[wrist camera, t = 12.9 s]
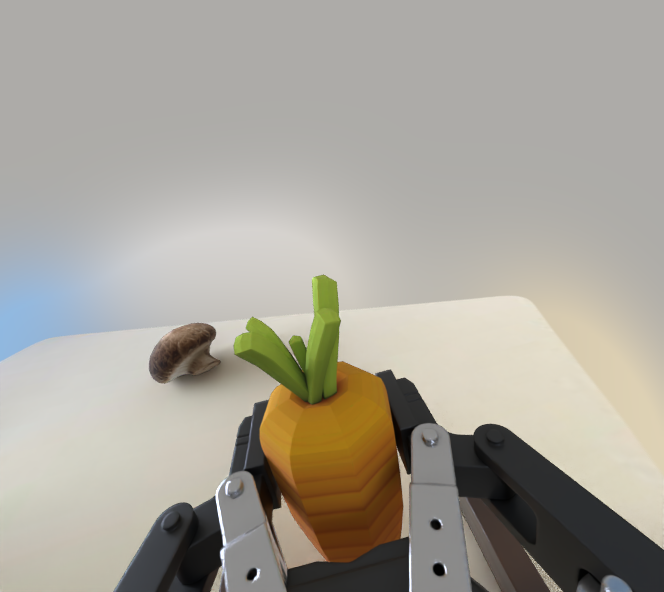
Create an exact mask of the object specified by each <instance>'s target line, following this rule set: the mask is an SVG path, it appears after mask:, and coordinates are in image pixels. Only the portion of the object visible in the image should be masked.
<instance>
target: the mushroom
mask: <svg viewBox="0 0 664 592" xmlns="http://www.w3.org/2000/svg"><path fill="white" fill-rule="evenodd" d="M215 336H216V330H215V329H214V328H213V326H211V325H208V324H204V323H192V324H188V325H185V326H182V327H179V328H176V329H173V330H172V331H170V332H169V333H168V334H166V335H165V336H164V337H162V339H161V340H160V341H159V342H158V344H157V345H156V346H155V348H154V350H153V352H152V354H151V356H150V361H149V371H150V374H151V376H152V378H153V379H154V380H156V381H157V382H159V383H164V384H165V383H168V382H170V381H172V380H173V379H175V378H176V377H178V376H181V375H184V374H191V375H198V374H201V373H204V372H206V371H208V370H210V369H212V368H213V367H215V366H217V365H218V364H219V363H220V360H218V359H216V358H214V357H212V356H211V355H210V353H209V351H210V345H211V342H212V341H213V340H214V339H215Z"/></svg>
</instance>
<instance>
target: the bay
mask: <svg viewBox="0 0 664 592" xmlns="http://www.w3.org/2000/svg"><path fill="white" fill-rule="evenodd" d="M459 500H460V508H461V511H462V513H463V515H464V517H465V519H466V521H467V523H468V525H469V527H470V529H471V531H472V533H473V535H474V537H475V539H476V541H477V543H478V545H479V547H480V549H481V551H482V553H483V554H484V556H485V558H486V560H487V562H488V564H489V566H490V568H491V570H492V572H493V574H494V576H495V578H496V580H497V582H498V584H499V586H500V588H501V590H502V592H550V590H549V589H548V587H547V585H546V584H545V582H544V581H543V579H542V577H541V576H540V574H539V573H538V571H537V569H536V568H535V566H534V564H533V563H532V561H531V560H530V558H529V556H528V555H527V553H526V552H525V550H524V548H523V547H522V545H521V544H520V543H519V542H518V541H517V539H516V538H515V537H514V536H513V535H512V534H511V533H510V532H509V531H508V530H507V528H506V527H505V526H504V525H503V524H502V523H501V522H500V521H499V520H498V518H497V517H496V516H495V515H494V514H493V513H492V512H491V511H490V510H489V508H488V507H487V506H486V505H485V504H484V503H483V502H482V501H481V499H480V498H468V497H459ZM219 592H226V589H225V582H224V576H223V572H222V578H221V584H220V590H219Z"/></svg>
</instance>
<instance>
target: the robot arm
mask: <svg viewBox="0 0 664 592" xmlns="http://www.w3.org/2000/svg"><path fill="white" fill-rule="evenodd" d="M375 376H377V377H379V378H381V379H382V381H383V383H384V385H385V387H386V390H387V394H388V400H389V405H390V411H391V416H392V422H393V427H394V434H395V441H396V446H397V448H398V451H399V454H400V456H401V459H402V461H403V464H404V466H405V469H406V471H407V474H411V483H410V486H409V537H406V538H402V539H398V540H395V541H391V542H387V543H383V544H380V545H378V546H376V547H374V548H373V549H371V550H370V551H368V552H366V553H365V554H363V555H361V556H360V557H358V558H357V559H355V560H353V561H351V562H347V563H345V562H314V563H310V564H306V565H303V566H299V567H295V568H291V569H288V568H287V565H286V562H285V559H284V556H283V553H282V550H281V547H280V544H279V541H278V538H277V535H276V532H275V529H274V526H273V523H272V511H273V510H274V509H277V508H281V491H280V489H279V487H278V485H277V482H276V480H275V477H274V475H273V473H272V470H271V468H270V466H269V463H268V461H267V459H266V456H265V454H264V452H263V449H262V446H261V442H260V426H261V423H262V420H263V417H264V414H265V411H266V408H267V405H268V402H269V400H266V401H262V402H258V403H255V404H254V409H253V415H252V416H249V417H245V418H244V420H243V421H242V423H241V425H240V426H239V429H238V433H237V439H236V443H235V448H234V453H233V458H232V463H231V468H230V473H229V476H228V477H227V478H226V479H225V480H223V482H222V483H221V484H220V486H219V487H218V489H217V492H216V495H215V496H214V497H213V498H211V499H210V500H208V501H206V502H204V503H203V504H201V505H199V506H197V507H196V508H194V509H193V508H192V506H191V505H190V504H188V503H178V504H175V505H173V506H171V507H169V508H168V509H167V510H165V511H164V512H163V513H162V514H161V515H160V516H159V517H158V519H157V520H156V521H155V523H154V525H153V526H152V528H151V530H150V531H149V533H148V535H147V536H146V538H145V540H144V541H143V543H142V545H141V546H140V548H139V550H138V551H137V553H136V555H135V556H134V558H133V560H132V561H131V563H130V565H129V566H128V568H127V570H126V571H125V573H124V575H123V576H122V578H121V580H120V581H119V583H118V585H117V586H116V588H115V590H114V591H113V592H210V591H211V588H212V586H213V583H214V580H215V578H216V575H217V572H218V569H219V567H221V566H222V569H223V576H224V582H225V589H226V592H489V591H488V590H486V589H485V588H484V587H483V586H481V585H480V584H479V583H478V582H476V581H475V580H474V579H473V578H472V577H470V571H469V564H468V557H467V550H466V543H465V536H464V529H463V522H462V515H461V508H460V501H459V497H468V498H480V499H481V501H482V502H483V503H484V504H485V505H486V506H487V507H488V508H489V510H490V511H491V512H492V513H493V514H494V515H495V516H496V517H497V518H498V520H499V521H500V522H501V523H502V524H503V525H504V526H505V527H506V528H507V530H508V531H509V532H510V533H511V534H512V535H513V536H514V537H515V538H516V539H517V541H518V542H519V543H520V544H521V545H522V546H523V547H524V548H525V549H526V551H527V552H528V553H529V554H530V555H531V556H532V557H533V558H534V559H535V561H536V562H537V563H538V564H539V565H540V566H541V567H542V568H543V569H544V571H545V572H546V573H547V574H548V575H549V576H550V577H551V578H552V579H553V581H554V582H555V583H556V584H557V585H558V586H559V587H560V588H561V589H562V591H563V592H664V550H663V549H662V548H661V547H659V546H658V545H657V544H656V543H654V542H653V541H652V540H650V539H649V538H648V537H647V536H645V535H644V534H643V533H641V532H640V531H639V530H638V529H636V528H635V527H634V526H632V525H631V524H630V523H628V522H627V521H626V520H625V519H623V518H622V517H621V516H619V515H618V514H617V513H616V512H614V511H613V510H612V509H610V508H609V507H608V506H607V505H605V504H604V503H603V502H601V501H600V500H599V499H598V498H596V497H595V496H594V495H592V494H591V493H590V492H589V491H587V490H586V489H585V488H583V487H582V486H581V485H579V484H578V483H577V482H576V481H574V480H573V479H572V478H570V477H569V476H568V475H567V474H565V473H564V472H563V471H561V470H560V469H559V468H558V467H556V466H555V465H554V464H552V463H551V462H550V461H549V460H547V459H546V458H545V457H543V456H542V455H541V454H540V453H538V452H537V451H536V450H534V449H533V448H532V447H531V446H529V445H528V444H527V443H525V442H524V441H523V440H521V439H520V438H519V437H518V436H516V435H515V434H514V433H512V432H511V431H510V430H508V429H507V428H505V427H503V426H500V425H496V424H485V425H482V426H479V427H478V428H477V429H476V430H475V432H474V435H457V434H452V433H449V432H447V431H446V430H445V429H444V428H443V427H442V426H440V425H438V424H437V423H436V421H435V419H434V418H433V416H432V414H431V413H430V411H429V409H428V407H427V406H426V404H425V402H424V401H423V399H422V397H421V396H420V394H419V393H418V390H417V389H416V387H415V385H414V384H413V383H412V382H411V381H409V380H408V379H406V378H401V379H397V380H396V378H395V376H394V374H393V373H392V371H391V370H387V371H383V372H379V373H375Z"/></svg>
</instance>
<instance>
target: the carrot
mask: <svg viewBox="0 0 664 592" xmlns="http://www.w3.org/2000/svg"><path fill="white" fill-rule="evenodd" d="M312 288H313V305H314V320H313V323H312V327H311V331H310V336H309V341H308V346H307V349H306V347H305V344H304V342H303V340H302V338H301V337H300V336H292V338H291V339H290V341H289V344H290V346H291V348H292V350H293V352H294V355H295V357H296V359H297V361H298V363H299V365H300V366H301V368H302V370H301V368H300V367H299V365H298V364H297V362H296V361H295V359H294V358H293V356H292V355H291V353H290V352H289V351H288V349H287V348H286V347H285V345H284V344H283V342H282V341H281V340H280V339H279V337H278V336H277V335H276V334H275V332H274V331H273V330H272V329H271V328H270V327H268V326H267V325H266V324H264V323H263V322H262V321H260V320H258V319H256V318H254V317H252V318H251V319H250V320H249V321H248V322H247V326H246V329H247V330H248V331H249V332H248V333H243V334H241V335H240V336H238V337H236V339H235V343H234V353H235V355H237V356H238V357H240V358H242V359H244V360H246V361H248V362H250V363H252V364H254V365H256V366H257V367H259V368H260V369H262V370H263V371H264V372H266V373H267V374H268V375H270V376H271V377H273V378H274V379H275V380H277V381H278V382H279V383H281V384H280V385H279V386H277V387H276V388H275V389H274V391H273V392H272V393H271V396H270V399H269V402H268V405H267V408H266V411H265V414H264V417H263V420H262V423H261V426H260V442H261V446H262V449H263V452H264V454H265V456H266V459H267V461H268V463H269V466H270V468H271V470H272V473H273V475H274V477H275V480H276V482H277V485H278V487H279V489H280V491H281V493H282V495H283V497H284V499H285V501H286V503H287V505H288V507H289V510H290V512H291V514H292V516H293V517H294V519H295V520H296V522H297V523H298V525H299V526H300V527H301V529H302V530H303V532H304V533H305V535H306V536H307V537H308V539H309V540H310V541H311V542H312V544H313V545H314V546H315V547H316V549H317V550H318V551H319V552H320V554H321V555H322V556H323V557H324V558H325V560H326V561H327V562H345V563H347V562H351V561H353V560H355V559H357V558H358V557H360V556H361V555H363V554H365V553H366V552H368V551H370V550H371V549H373V548H374V547H376V546H378V545H380V544H383V543H387V542H391V541H395V540H398V539H400V537H401V530H402V516H403V499H402V488H401V478H400V469H399V462H398V455H397V448H396V441H395V434H394V427H393V422H392V416H391V411H390V405H389V400H388V394H387V390H386V387H385V385H384V383H383V381H382V379H381V378H379V377H377V376H375V375H373V374H371V373H368V372H366V371H364V370H361V369H359V368H357V367H354V366H352V365H350V364H348V363H345V362H343V361H342V362H337V360H338V343H339V326H340V322H341V320H340V318H339V304H338V292H337V282H336V281H334V280H332V279H330V278H328V277H327V276H325V275H321V276H316V277H313V279H312Z"/></svg>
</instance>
